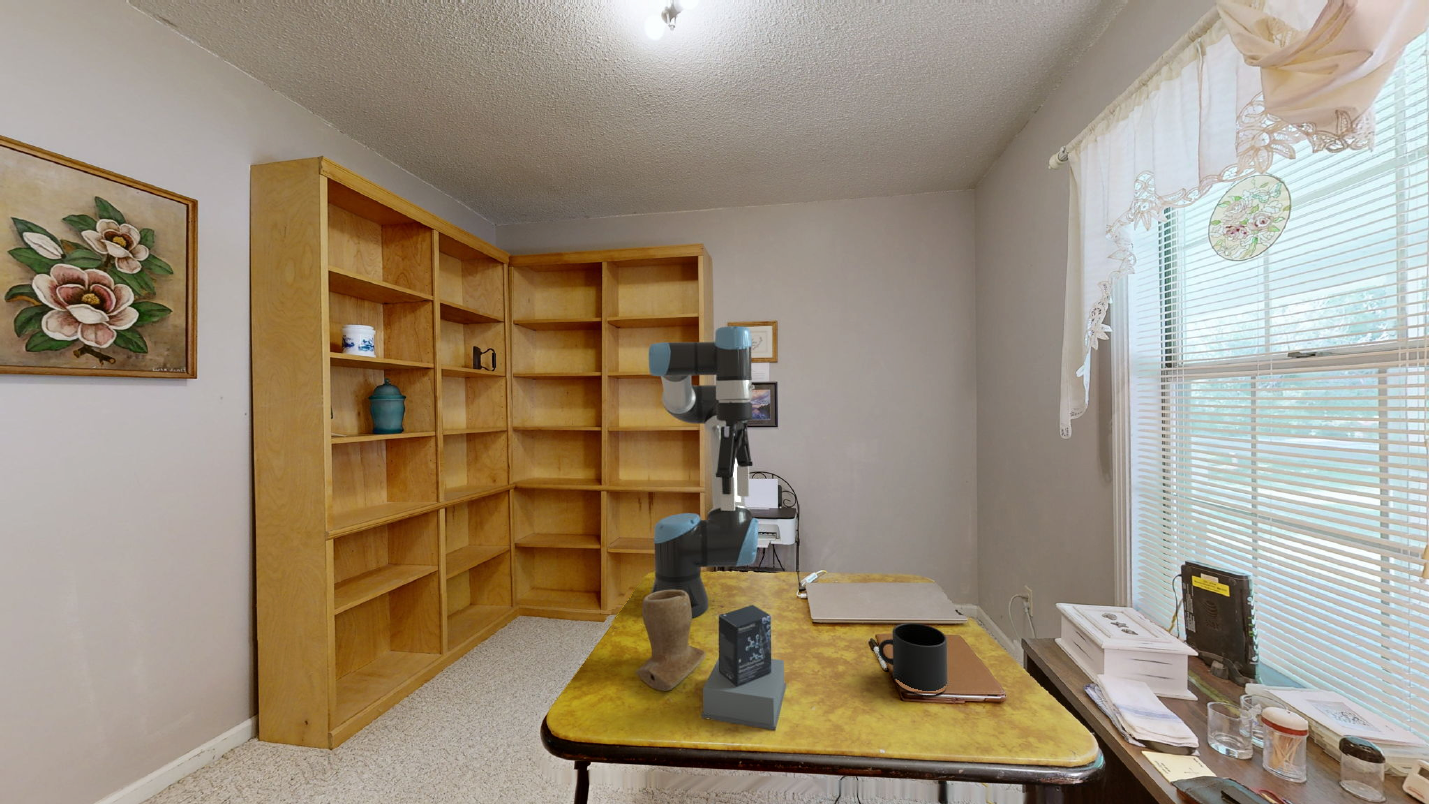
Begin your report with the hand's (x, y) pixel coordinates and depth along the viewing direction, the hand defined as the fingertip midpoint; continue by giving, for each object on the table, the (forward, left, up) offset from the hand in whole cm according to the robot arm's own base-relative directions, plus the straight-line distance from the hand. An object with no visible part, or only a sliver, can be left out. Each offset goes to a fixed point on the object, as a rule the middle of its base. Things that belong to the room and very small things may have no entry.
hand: (736, 502), depth 106 cm
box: (+16, +5, -27) cm, 32 cm away
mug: (+2, +34, -32) cm, 47 cm away
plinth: (+16, +5, -32) cm, 36 cm away
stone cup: (+10, -12, -32) cm, 36 cm away
